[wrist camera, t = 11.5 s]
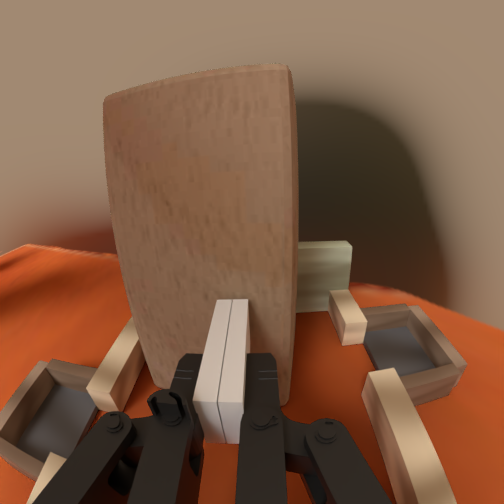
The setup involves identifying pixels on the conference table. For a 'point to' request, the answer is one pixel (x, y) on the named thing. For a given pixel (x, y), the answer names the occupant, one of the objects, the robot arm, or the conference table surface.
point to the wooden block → (206, 209)
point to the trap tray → (308, 300)
